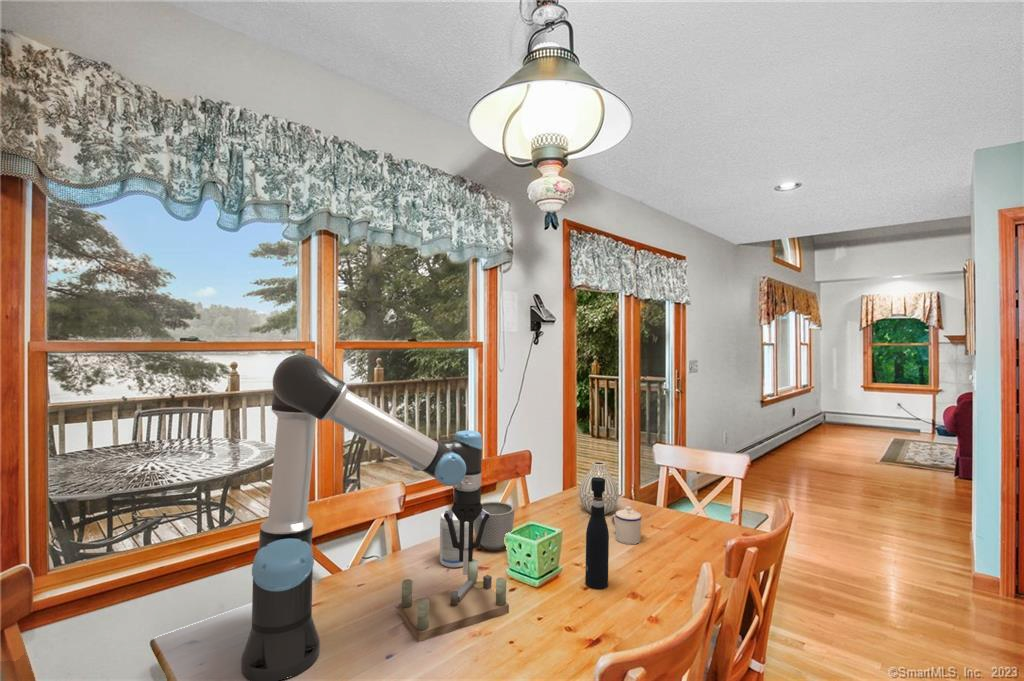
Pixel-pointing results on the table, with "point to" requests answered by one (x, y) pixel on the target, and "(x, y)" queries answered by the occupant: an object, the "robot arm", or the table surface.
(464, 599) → the wooden peg board
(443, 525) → the supplement tub
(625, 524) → the teacup with lid
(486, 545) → the planter
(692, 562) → the table surface
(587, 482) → the vase
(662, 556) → the table surface
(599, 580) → the wine bottle
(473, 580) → the hinged leg
